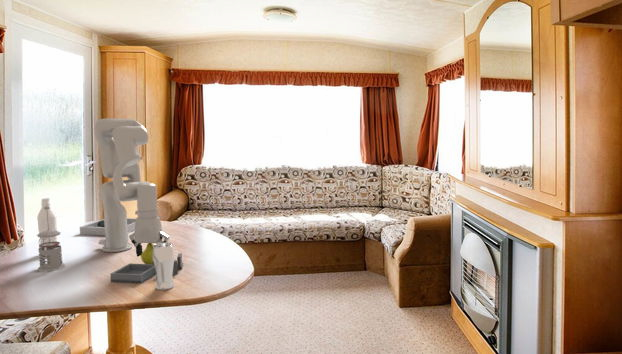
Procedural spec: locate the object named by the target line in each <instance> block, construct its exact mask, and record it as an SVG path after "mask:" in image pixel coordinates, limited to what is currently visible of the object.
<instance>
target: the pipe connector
mask: <svg viewBox="0 0 622 354" xmlns="http://www.w3.org/2000/svg"><path fill="white" fill-rule="evenodd" d="M100 220H101V221H99V220H98V221H99V222H98V224H97V225H98V227H105V224H104V220H103V219H100Z"/></svg>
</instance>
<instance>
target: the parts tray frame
mask: <svg viewBox="0 0 622 354" xmlns="http://www.w3.org/2000/svg"><path fill="white" fill-rule="evenodd" d="M136 218H137V217H136ZM136 218H135V217H133V218H131V217H127V229H128V234H129V233H132V232H135V222H136ZM101 220H104V218H103V219H100V220H97V221H94V222H91V223H88V224H84V225H81V226H79V235H89V236H90V235H91V236H105V227H98V225H97V224H98V222H99V221H101ZM131 231H132V232H131Z"/></svg>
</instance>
